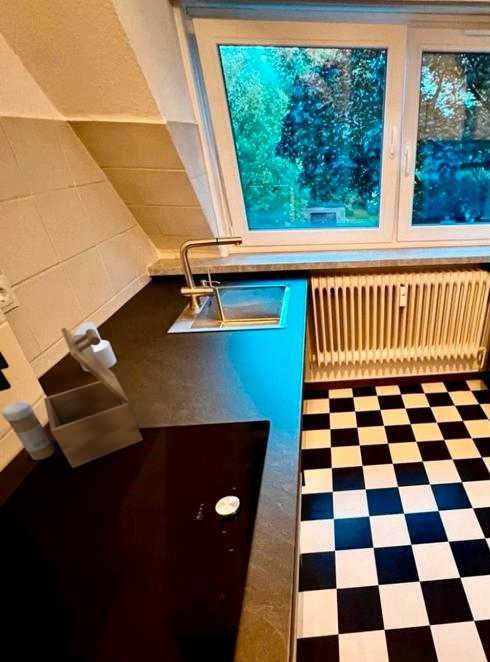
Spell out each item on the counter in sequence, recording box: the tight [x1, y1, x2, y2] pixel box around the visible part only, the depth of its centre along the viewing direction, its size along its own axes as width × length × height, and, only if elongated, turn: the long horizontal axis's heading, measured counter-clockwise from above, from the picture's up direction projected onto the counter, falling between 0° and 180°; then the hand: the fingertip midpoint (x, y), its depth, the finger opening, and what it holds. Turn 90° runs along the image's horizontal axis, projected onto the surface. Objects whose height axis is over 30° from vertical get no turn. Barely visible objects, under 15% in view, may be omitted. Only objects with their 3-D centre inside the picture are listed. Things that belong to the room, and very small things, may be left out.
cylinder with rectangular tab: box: [73, 321, 117, 373], centre depth 114 cm, size 9×9×12 cm
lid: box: [60, 327, 130, 404], centre depth 82 cm, size 14×15×5 cm
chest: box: [43, 380, 144, 469], centre depth 86 cm, size 14×15×11 cm
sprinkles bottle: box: [0, 400, 57, 461], centre depth 80 cm, size 5×5×13 cm
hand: (0, 379), depth 73 cm, fingers open, 9 cm apart
